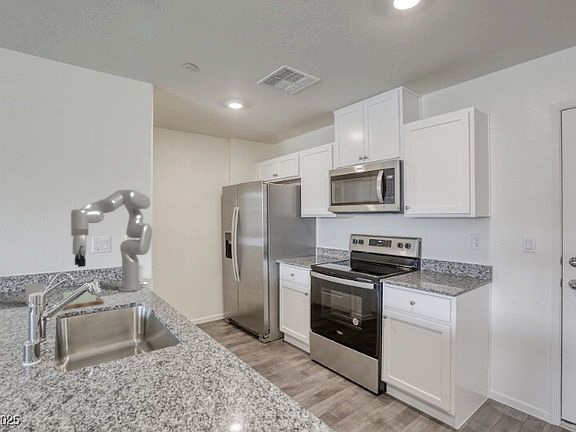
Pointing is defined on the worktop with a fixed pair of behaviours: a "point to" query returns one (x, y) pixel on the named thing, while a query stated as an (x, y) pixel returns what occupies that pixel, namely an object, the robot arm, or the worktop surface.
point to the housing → (82, 299)
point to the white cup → (33, 289)
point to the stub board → (85, 304)
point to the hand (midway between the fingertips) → (80, 265)
